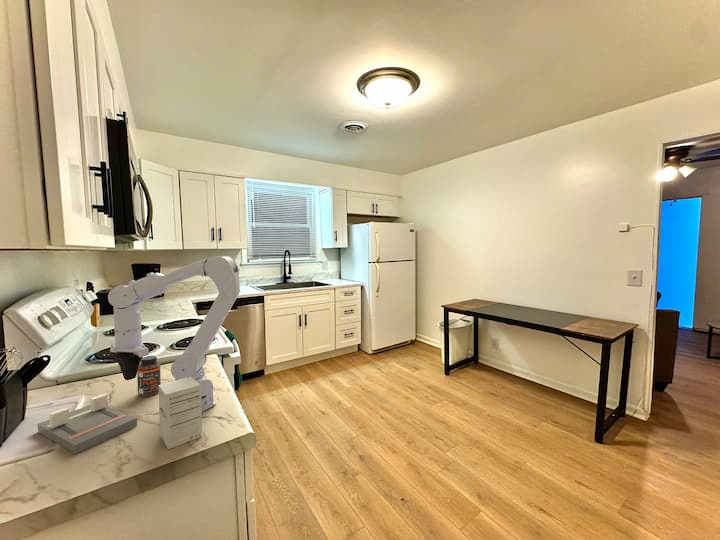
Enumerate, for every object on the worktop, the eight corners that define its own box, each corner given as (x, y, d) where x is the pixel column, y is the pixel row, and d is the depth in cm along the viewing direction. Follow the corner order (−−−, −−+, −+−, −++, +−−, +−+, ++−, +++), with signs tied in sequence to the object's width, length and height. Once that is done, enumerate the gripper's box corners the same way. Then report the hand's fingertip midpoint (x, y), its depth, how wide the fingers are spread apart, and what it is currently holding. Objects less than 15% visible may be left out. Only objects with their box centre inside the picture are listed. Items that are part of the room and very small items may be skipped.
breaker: (69, 421, 72) (68, 408, 72) (52, 428, 70) (52, 414, 70) (66, 420, 73) (65, 407, 73) (49, 426, 70) (49, 413, 70)
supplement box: (159, 436, 70) (157, 384, 70) (193, 424, 76) (192, 375, 75) (166, 451, 65) (164, 394, 64) (203, 436, 70) (201, 384, 70)
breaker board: (137, 425, 75) (136, 417, 75) (75, 454, 64) (74, 444, 64) (98, 409, 83) (98, 401, 83) (38, 431, 72) (37, 423, 72)
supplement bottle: (141, 399, 89) (140, 362, 88) (135, 394, 92) (133, 358, 92) (164, 392, 93) (163, 356, 93) (157, 387, 97) (155, 353, 97)
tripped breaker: (107, 406, 80) (107, 394, 80) (93, 411, 77) (93, 399, 77) (104, 405, 81) (104, 393, 80) (90, 410, 78) (90, 398, 78)
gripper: (96, 329, 80) (98, 379, 80) (126, 335, 73) (128, 389, 74) (126, 324, 86) (128, 370, 87) (156, 329, 80) (158, 379, 80)
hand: (130, 378), depth 81 cm, fingers closed
